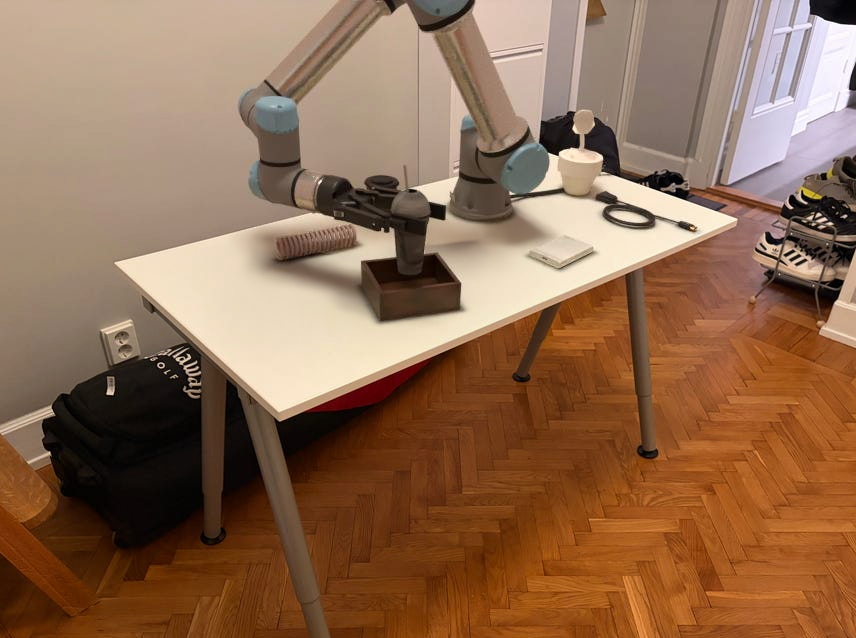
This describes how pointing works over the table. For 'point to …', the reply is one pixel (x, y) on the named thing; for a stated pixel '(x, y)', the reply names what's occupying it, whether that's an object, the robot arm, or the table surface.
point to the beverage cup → (405, 242)
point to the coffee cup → (382, 184)
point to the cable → (612, 199)
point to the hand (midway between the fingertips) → (435, 220)
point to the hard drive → (561, 251)
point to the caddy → (410, 287)
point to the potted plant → (580, 159)
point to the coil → (315, 241)
